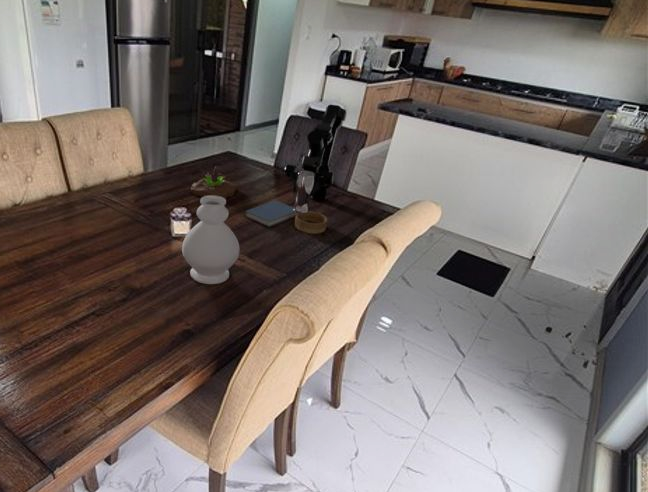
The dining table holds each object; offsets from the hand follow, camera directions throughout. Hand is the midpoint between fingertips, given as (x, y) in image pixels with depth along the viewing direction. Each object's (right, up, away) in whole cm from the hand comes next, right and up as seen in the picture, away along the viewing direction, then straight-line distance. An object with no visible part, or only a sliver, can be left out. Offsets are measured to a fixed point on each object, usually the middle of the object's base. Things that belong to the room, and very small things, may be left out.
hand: (302, 194), depth 176 cm
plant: (-35, +9, +34) cm, 49 cm away
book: (-10, -6, +14) cm, 18 cm away
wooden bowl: (+4, -11, +7) cm, 14 cm away
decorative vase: (-35, -32, -29) cm, 55 cm away
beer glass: (0, -5, +5) cm, 7 cm away
